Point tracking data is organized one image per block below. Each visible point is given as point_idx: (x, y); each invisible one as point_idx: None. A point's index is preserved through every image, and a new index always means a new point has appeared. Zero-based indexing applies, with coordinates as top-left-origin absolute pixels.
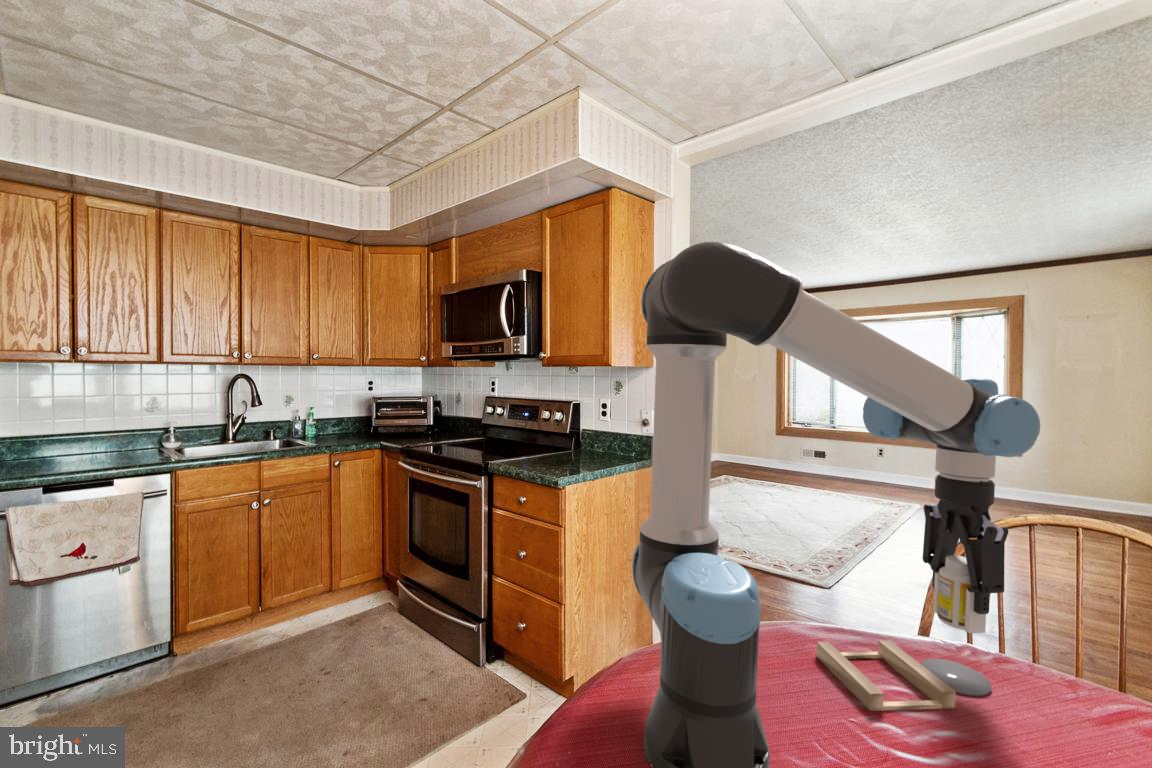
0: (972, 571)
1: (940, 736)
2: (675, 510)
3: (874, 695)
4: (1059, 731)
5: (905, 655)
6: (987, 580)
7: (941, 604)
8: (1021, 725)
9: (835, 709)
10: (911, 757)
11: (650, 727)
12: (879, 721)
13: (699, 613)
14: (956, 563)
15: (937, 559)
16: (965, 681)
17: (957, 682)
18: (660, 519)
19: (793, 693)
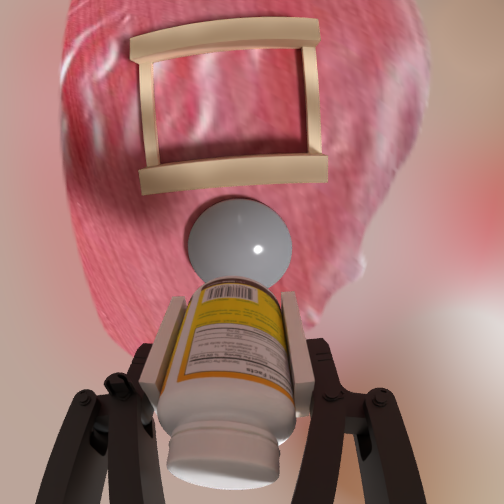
0: (120, 442)
1: (91, 125)
2: None
3: (130, 45)
4: (127, 296)
5: (264, 175)
6: (68, 422)
7: (232, 302)
8: (128, 259)
9: (149, 2)
10: (61, 71)
11: None
12: (119, 52)
13: None
14: (180, 455)
15: (315, 433)
16: (219, 254)
17: (213, 238)
18: None
19: None
